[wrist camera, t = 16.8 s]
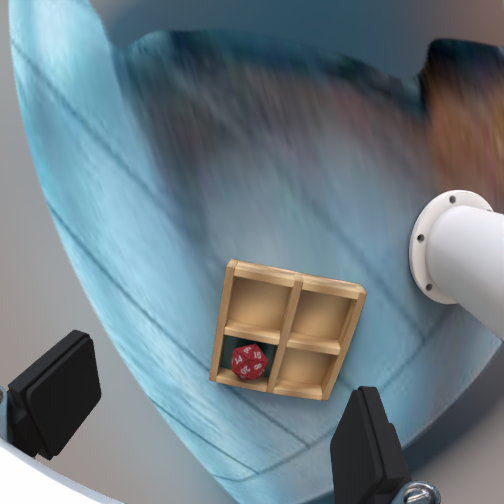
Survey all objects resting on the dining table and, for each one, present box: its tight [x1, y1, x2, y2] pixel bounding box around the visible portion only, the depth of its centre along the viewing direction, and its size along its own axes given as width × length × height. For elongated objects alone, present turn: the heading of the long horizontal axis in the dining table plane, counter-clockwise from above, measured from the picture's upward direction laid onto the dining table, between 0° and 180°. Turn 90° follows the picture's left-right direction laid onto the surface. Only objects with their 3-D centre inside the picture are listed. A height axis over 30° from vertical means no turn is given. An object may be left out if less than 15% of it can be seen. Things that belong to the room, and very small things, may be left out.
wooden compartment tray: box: [209, 259, 367, 401], centre depth 31 cm, size 14×14×3 cm
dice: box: [230, 343, 268, 381], centre depth 31 cm, size 4×4×4 cm
